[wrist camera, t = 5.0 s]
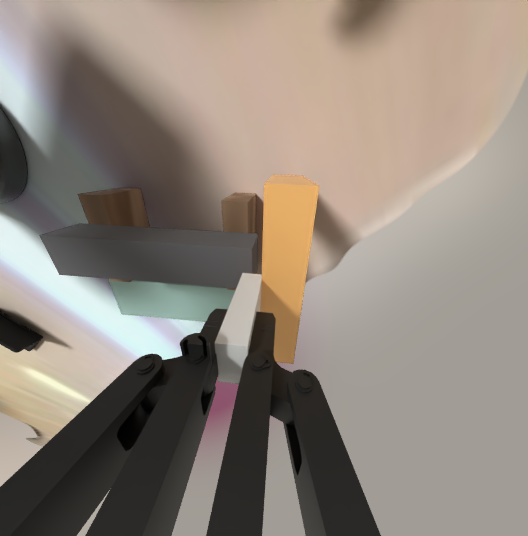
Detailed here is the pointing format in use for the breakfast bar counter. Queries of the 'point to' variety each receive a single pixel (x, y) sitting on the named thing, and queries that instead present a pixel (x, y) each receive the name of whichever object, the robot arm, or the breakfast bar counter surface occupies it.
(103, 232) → the grey rectangular bar
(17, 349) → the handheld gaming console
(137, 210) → the cradle
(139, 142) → the breakfast bar counter surface
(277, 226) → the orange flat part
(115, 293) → the mat
